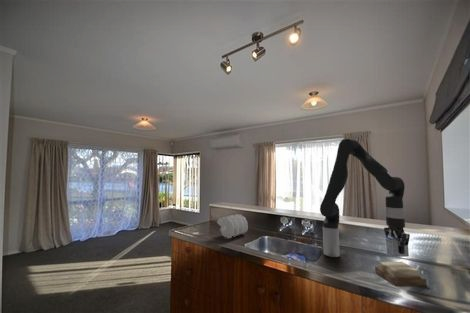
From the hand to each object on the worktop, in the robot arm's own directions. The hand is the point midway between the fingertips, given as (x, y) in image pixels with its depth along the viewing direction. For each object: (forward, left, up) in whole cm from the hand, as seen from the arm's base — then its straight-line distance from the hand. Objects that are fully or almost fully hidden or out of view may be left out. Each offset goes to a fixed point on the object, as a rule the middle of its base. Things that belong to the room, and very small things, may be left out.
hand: (397, 251), depth 104 cm
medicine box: (0, 0, -2) cm, 2 cm away
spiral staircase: (-74, -80, -13) cm, 110 cm away
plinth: (0, 0, -13) cm, 13 cm away
